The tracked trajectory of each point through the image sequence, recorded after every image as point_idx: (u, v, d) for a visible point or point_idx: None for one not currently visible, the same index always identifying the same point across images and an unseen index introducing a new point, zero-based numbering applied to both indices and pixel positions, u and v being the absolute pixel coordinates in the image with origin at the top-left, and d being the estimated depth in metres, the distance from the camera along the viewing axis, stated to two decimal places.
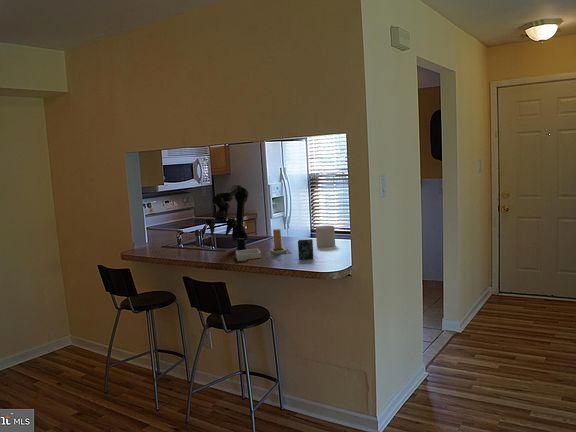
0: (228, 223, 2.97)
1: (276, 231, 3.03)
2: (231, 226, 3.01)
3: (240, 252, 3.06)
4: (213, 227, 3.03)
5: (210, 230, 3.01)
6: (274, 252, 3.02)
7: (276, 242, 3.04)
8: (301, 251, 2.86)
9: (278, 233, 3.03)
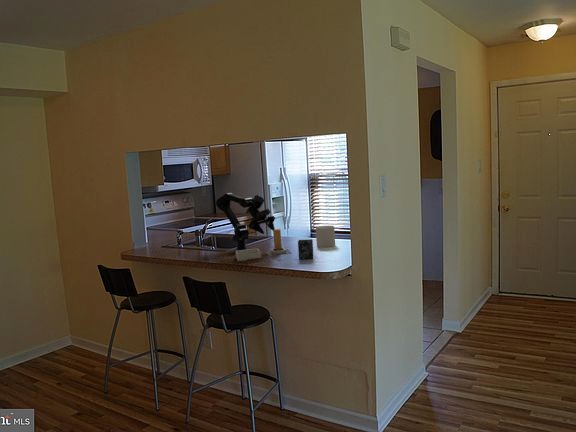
0: (272, 220, 3.15)
1: (276, 231, 3.03)
2: None
3: (240, 252, 3.06)
4: None
5: (261, 229, 3.06)
6: (274, 252, 3.02)
7: (276, 242, 3.04)
8: (301, 251, 2.86)
9: (278, 233, 3.03)
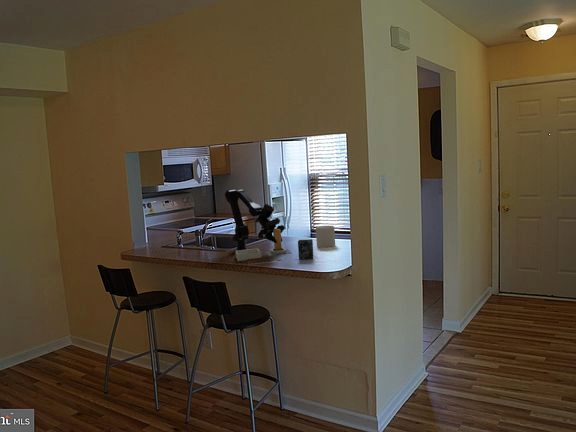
0: None
1: (276, 231, 3.03)
2: None
3: (240, 252, 3.06)
4: None
5: (273, 238, 3.03)
6: (274, 252, 3.02)
7: None
8: (301, 251, 2.86)
9: (278, 233, 3.03)
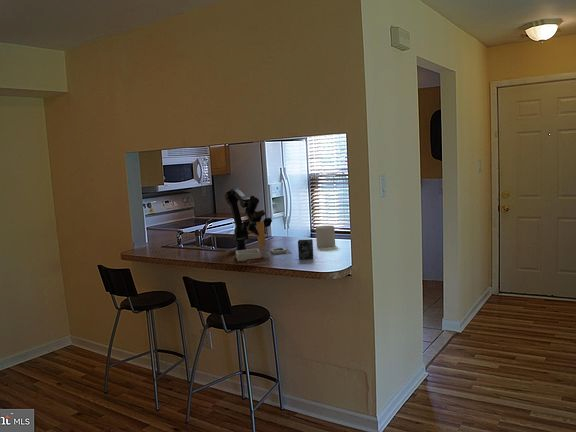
0: (265, 222, 3.03)
1: (258, 224, 2.98)
2: None
3: (240, 252, 3.06)
4: None
5: (255, 230, 2.99)
6: (274, 252, 3.02)
7: None
8: (301, 251, 2.86)
9: (260, 226, 2.98)
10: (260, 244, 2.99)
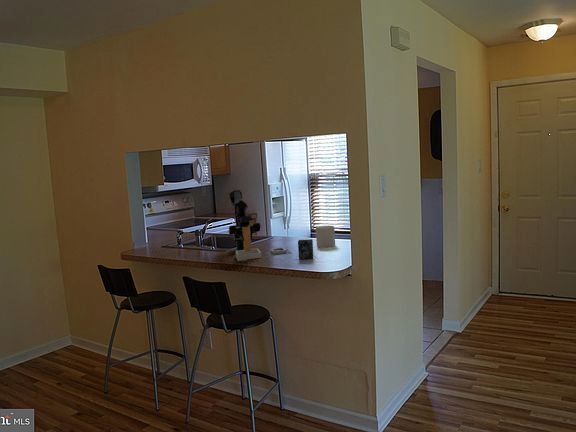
0: (252, 227, 3.01)
1: (243, 229, 2.97)
2: None
3: (240, 252, 3.06)
4: None
5: (241, 235, 2.98)
6: (274, 252, 3.02)
7: (244, 240, 2.98)
8: (301, 251, 2.86)
9: (245, 231, 2.97)
10: (245, 249, 2.99)
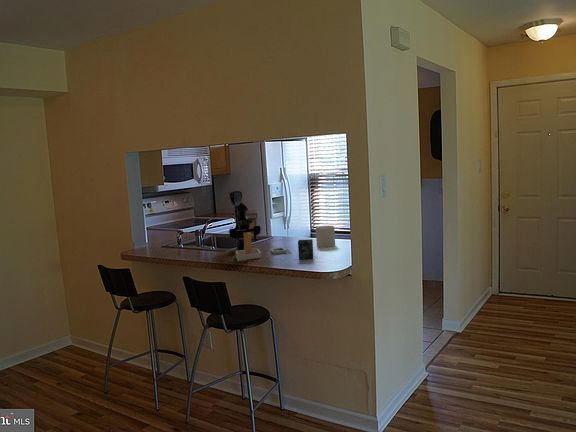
0: (256, 230, 3.02)
1: (244, 234, 2.98)
2: None
3: (240, 252, 3.06)
4: None
5: (237, 238, 2.98)
6: (274, 252, 3.02)
7: (244, 246, 2.99)
8: (301, 251, 2.86)
9: (246, 237, 2.98)
10: None
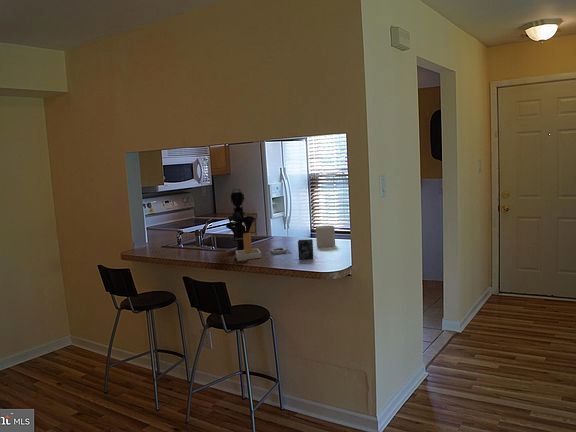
0: (245, 222, 3.05)
1: (244, 235, 2.98)
2: (250, 223, 3.08)
3: (240, 252, 3.06)
4: (235, 229, 3.14)
5: (233, 233, 3.11)
6: (274, 252, 3.02)
7: (244, 246, 2.99)
8: (301, 251, 2.86)
9: (246, 237, 2.97)
10: None
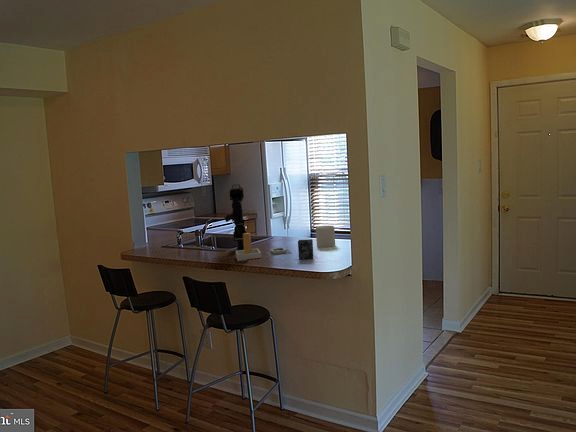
0: (235, 225, 3.04)
1: (244, 235, 2.97)
2: None
3: (240, 252, 3.06)
4: None
5: (236, 228, 3.16)
6: (274, 252, 3.02)
7: (244, 246, 2.99)
8: (301, 251, 2.86)
9: (246, 237, 2.97)
10: None
